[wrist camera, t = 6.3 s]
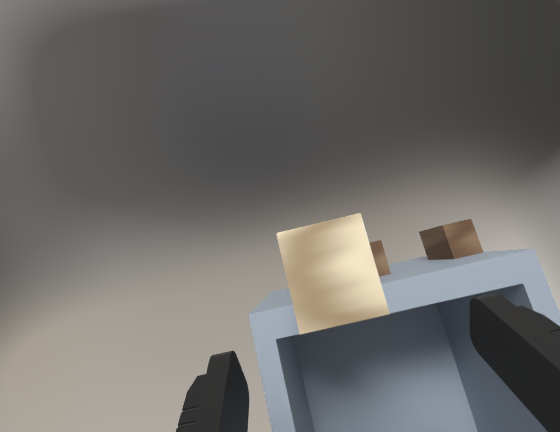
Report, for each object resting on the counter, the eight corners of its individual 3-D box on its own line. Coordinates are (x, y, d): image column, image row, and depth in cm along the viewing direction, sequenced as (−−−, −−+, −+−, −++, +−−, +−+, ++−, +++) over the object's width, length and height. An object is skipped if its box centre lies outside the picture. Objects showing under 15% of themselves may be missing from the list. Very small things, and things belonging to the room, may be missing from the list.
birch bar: (299, 334, 11) (276, 233, 11) (301, 287, 32) (292, 253, 33) (389, 313, 11) (360, 213, 11) (330, 280, 32) (321, 246, 33)
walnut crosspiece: (362, 280, 24) (353, 246, 25) (352, 277, 29) (344, 249, 30) (483, 252, 24) (471, 218, 24) (452, 254, 29) (442, 226, 29)
